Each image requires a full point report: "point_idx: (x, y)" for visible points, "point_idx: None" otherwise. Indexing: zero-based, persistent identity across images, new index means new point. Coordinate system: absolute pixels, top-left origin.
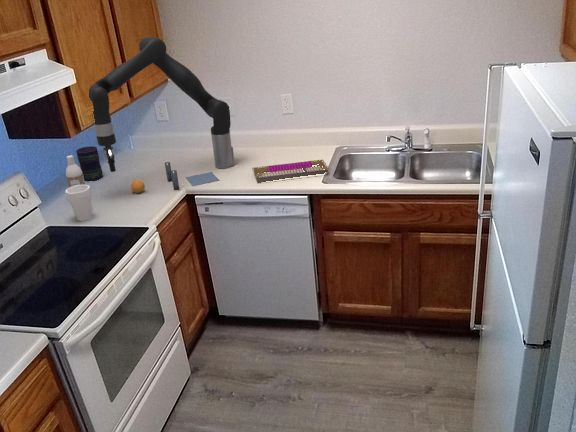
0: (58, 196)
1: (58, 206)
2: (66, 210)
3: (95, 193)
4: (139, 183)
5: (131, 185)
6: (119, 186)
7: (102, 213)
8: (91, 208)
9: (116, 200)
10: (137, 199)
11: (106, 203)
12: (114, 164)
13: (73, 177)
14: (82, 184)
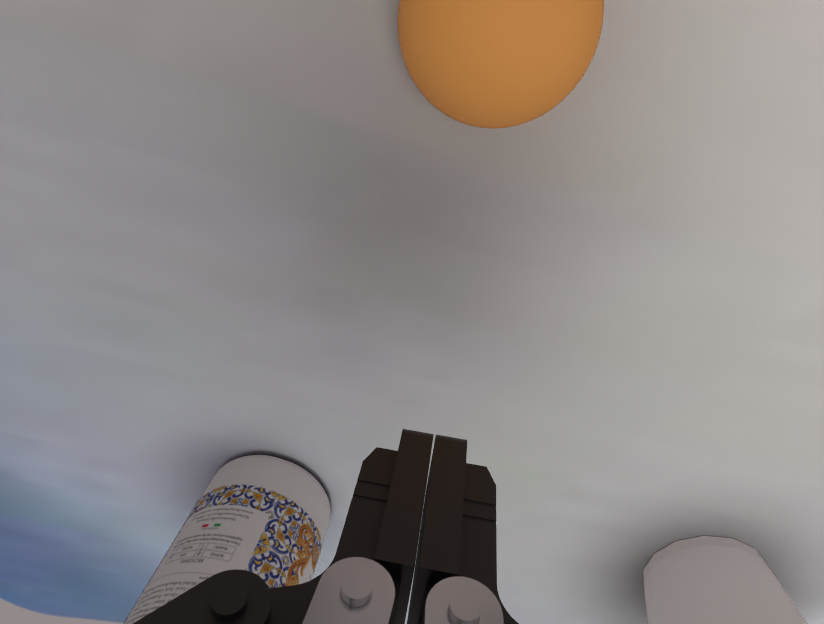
0: (153, 573)
1: None
2: None
3: (234, 393)
4: (587, 2)
5: (503, 125)
6: (160, 166)
7: (744, 478)
8: (790, 612)
9: (544, 308)
10: (714, 116)
11: (545, 394)
12: (460, 549)
13: None
14: None
